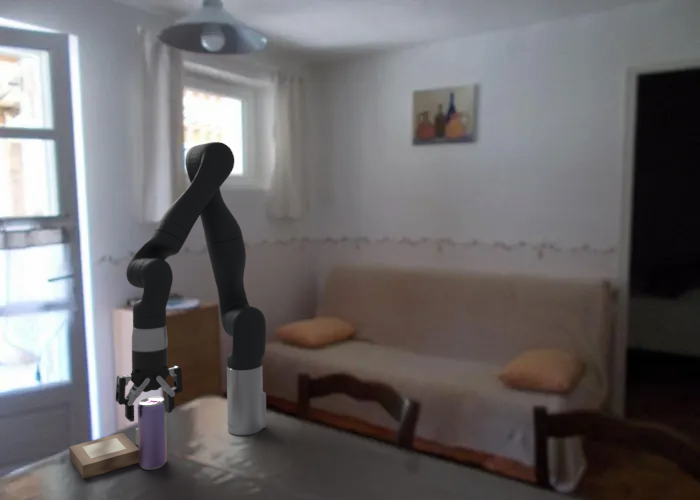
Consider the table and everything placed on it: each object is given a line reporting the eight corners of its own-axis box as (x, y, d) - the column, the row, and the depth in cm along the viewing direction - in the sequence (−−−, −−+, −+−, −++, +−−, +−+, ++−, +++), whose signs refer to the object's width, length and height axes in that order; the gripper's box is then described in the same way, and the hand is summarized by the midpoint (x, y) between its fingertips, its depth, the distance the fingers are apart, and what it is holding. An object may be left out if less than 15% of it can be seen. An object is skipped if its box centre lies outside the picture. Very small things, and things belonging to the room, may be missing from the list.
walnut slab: (123, 444, 132) (122, 432, 131) (139, 462, 123) (139, 449, 122) (69, 459, 124) (69, 446, 124) (83, 479, 115) (82, 465, 115)
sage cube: (149, 438, 135) (149, 423, 135) (159, 442, 133) (159, 427, 133) (135, 444, 132) (135, 428, 132) (145, 448, 130) (145, 432, 130)
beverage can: (157, 472, 118) (156, 406, 117) (133, 469, 119) (131, 404, 118) (171, 459, 124) (170, 397, 123) (148, 457, 125) (147, 395, 124)
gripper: (174, 338, 127) (174, 404, 128) (111, 347, 118) (112, 418, 119) (187, 344, 121) (187, 414, 122) (122, 354, 112) (122, 429, 113)
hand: (150, 416), depth 121 cm, fingers open, 8 cm apart
